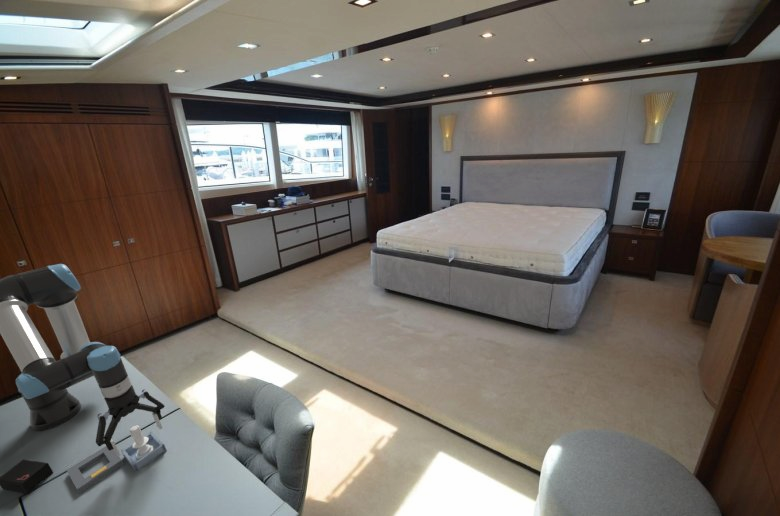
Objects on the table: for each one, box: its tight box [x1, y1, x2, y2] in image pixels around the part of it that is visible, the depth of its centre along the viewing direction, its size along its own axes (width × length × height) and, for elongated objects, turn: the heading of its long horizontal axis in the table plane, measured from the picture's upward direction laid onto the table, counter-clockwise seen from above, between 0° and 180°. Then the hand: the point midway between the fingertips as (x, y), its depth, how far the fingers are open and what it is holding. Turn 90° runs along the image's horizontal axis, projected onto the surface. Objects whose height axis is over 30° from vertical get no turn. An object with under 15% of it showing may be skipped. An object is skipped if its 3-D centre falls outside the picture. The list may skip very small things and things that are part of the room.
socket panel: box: [66, 445, 124, 494], centre depth 114 cm, size 12×12×2 cm
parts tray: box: [121, 431, 167, 473], centre depth 119 cm, size 11×10×3 cm
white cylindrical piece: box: [129, 424, 154, 459], centre depth 117 cm, size 5×5×12 cm
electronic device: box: [0, 459, 54, 495], centre depth 111 cm, size 7×11×5 cm
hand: (139, 440), depth 117 cm, fingers open, 12 cm apart
